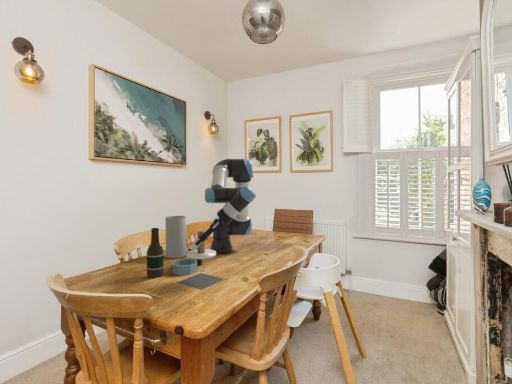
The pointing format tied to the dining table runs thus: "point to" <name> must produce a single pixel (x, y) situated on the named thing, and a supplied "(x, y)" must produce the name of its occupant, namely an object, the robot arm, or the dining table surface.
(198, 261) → the coffee mug
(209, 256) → the lid
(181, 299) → the dining table surface
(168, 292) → the dining table surface
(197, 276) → the mat
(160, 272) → the beer bottle
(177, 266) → the bowl
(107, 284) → the dining table surface
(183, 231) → the cylinder vase
